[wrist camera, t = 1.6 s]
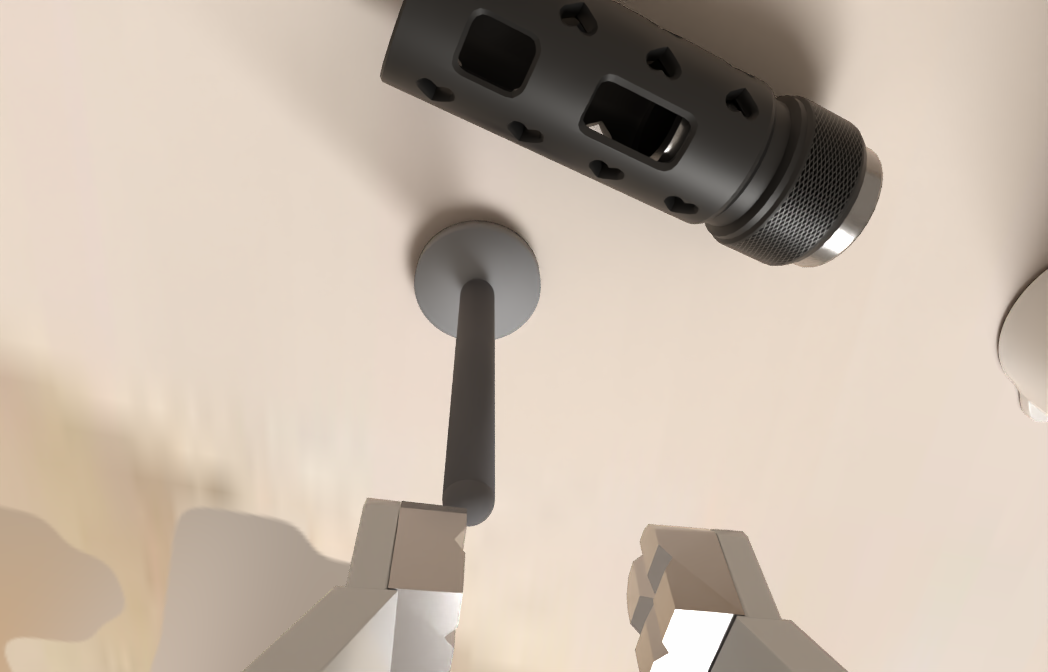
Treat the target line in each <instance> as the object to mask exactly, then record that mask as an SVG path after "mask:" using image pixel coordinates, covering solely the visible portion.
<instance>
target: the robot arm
mask: <svg viewBox="0 0 1048 672" xmlns="http://www.w3.org/2000/svg"><path fill="white" fill-rule="evenodd" d="M999 359H1000V363H1001V366H1002V369H1003V371H1004V372H1005V374H1006V376H1007V377H1008V378H1009V379H1010V380H1011V381H1012V383H1013V384H1014V385H1015V386H1016V387H1017V389H1018V390H1019V392H1020V404H1021V409H1022V411H1023V413H1024V414H1025V415H1026V416H1028V417H1029V418H1030V419H1032V420H1033V421H1036V422H1048V269H1047V270H1046V271H1045V272H1043V273H1042V274H1041V275H1040V276H1039V277H1038V278H1037V279H1035V280H1034V281H1033V282H1032V283H1031V284H1030V285H1029V286H1028V287H1027V289H1026V290H1025V291H1024V292H1023V293H1022V294H1021V296H1020V297H1019V298H1018V300H1017V301H1016V303H1015V304H1014V305H1013V307H1012V309H1011V310H1010V312H1009V314H1008V316H1007V318H1006V320H1005V322H1004V325H1003V328H1002V331H1001V334H1000V339H999ZM466 525H467V508H459V507H450V506H442V505H433V504H424V503H415V502H406V501H402V502H399V501H391V500H383V499H374V498H367V499H366V502H365V504H364V506H363V511H362V515H361V520H360V524H359V529H358V533H357V538H356V542H355V547H354V551H353V556H352V560H351V565H350V569H349V574H348V579H347V583H346V586H335V587H334V588H332V589H331V590H330V591H329V592H328V593H327V594H326V595H325V596H324V597H323V598H322V599H320V600H319V601H318V602H317V603H316V604H315V605H314V606H313V607H312V608H311V609H310V610H309V611H307V613H305V614H304V615H303V616H302V617H301V618H300V619H299V620H298V621H297V622H296V623H294V624H293V625H292V626H291V627H290V628H289V629H288V630H287V631H286V632H285V633H283V634H282V635H281V636H280V637H279V638H278V639H277V640H276V641H275V642H274V643H273V644H272V645H270V647H268V648H267V649H266V650H265V651H264V652H263V653H262V654H261V655H260V656H259V657H257V658H256V659H255V660H254V661H253V662H252V663H251V664H250V665H249V666H248V667H247V668H245V669H244V670H243V671H242V672H450V669H451V663H452V658H453V652H454V642H455V629H456V628H457V627H458V622H459V616H460V609H461V603H462V596H463V583H464V566H465V552H464V551H463V547H464V541H465V534H466ZM640 545H641V550H642V554H643V555H642V556H640V557H639V558H637V559H636V560H635V561H633V563H632V567H631V570H630V573H629V577H628V587H627V607H628V614H629V619H630V624H631V625H632V626H633V627H634V628H635V629H636V630H637V632H638V633H639V634H640V638H639V640H638V643H637V646H636V649H635V652H636V657H637V662H638V667H639V672H848V671H847V670H846V669H845V668H843V667H842V666H841V665H840V664H839V663H838V662H837V661H836V660H835V659H834V658H832V657H831V656H830V655H829V654H828V653H827V652H826V651H825V650H824V649H822V648H821V647H820V646H819V645H818V644H817V643H816V642H815V641H814V640H812V639H811V638H810V637H809V636H808V635H807V634H806V633H805V632H804V631H803V630H801V629H800V628H799V627H798V626H797V625H796V624H795V623H794V622H793V621H791V620H784V619H781V616H780V614H779V611H778V609H777V606H776V604H775V602H774V599H773V597H772V594H771V592H770V589H769V587H768V585H767V582H766V580H765V577H764V575H763V573H762V570H761V568H760V565H759V563H758V560H757V558H756V556H755V553H754V551H753V548H752V546H751V543H750V541H749V539H748V536H747V535H746V534H745V533H744V532H743V531H732V530H719V529H710V530H709V529H705V528H692V527H680V526H667V525H654V524H648V525H647V527H646V528H645V529H644V531H643V534H642V537H641V539H640Z"/></svg>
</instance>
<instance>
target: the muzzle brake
mask: <svg viewBox="0 0 1048 672" xmlns="http://www.w3.org/2000/svg"><path fill="white" fill-rule="evenodd" d="M380 77H381V80H382V82H384V83H386V84H389V85H391V86H393V87H395V88H397V89H399V90H402V91H404V92H406V93H408V94H410V95H412V96H414V97H417V98H419V99H421V100H423V101H425V102H427V103H430V104H432V105H434V106H436V107H438V108H440V109H443V110H445V111H447V112H449V113H451V114H453V115H456V116H458V117H460V118H462V119H464V120H466V121H468V122H471V123H473V124H475V125H477V126H479V127H481V128H484V129H486V130H488V131H490V132H492V133H494V134H497V135H499V136H501V137H503V138H505V139H507V140H510V141H512V142H514V143H516V144H518V145H520V146H523V147H525V148H527V149H529V150H531V151H533V152H535V153H538V154H540V155H542V156H544V157H546V158H548V159H551V160H553V161H555V162H557V163H559V164H561V165H564V166H566V167H568V168H570V169H572V170H574V171H577V172H579V173H581V174H583V175H585V176H587V177H589V178H592V179H594V180H596V181H598V182H600V183H602V184H605V185H607V186H609V187H611V188H613V189H615V190H618V191H620V192H622V193H624V194H626V195H628V196H631V197H633V198H635V199H637V200H639V201H641V202H643V203H646V204H648V205H650V206H652V207H654V208H656V209H659V210H661V211H663V212H665V213H667V214H669V215H672V216H674V217H676V218H678V219H680V220H682V221H685V222H687V223H690V224H701V223H705V225H706V227H707V230H708V231H709V232H710V233H711V234H712V235H713V237H714V238H715V239H716V240H717V241H718V242H719V243H721V244H723V245H725V246H727V247H729V248H732V249H734V250H736V251H738V252H740V253H742V254H745V255H747V256H749V257H751V258H753V259H755V260H758V261H760V262H762V263H764V264H767V265H770V266H782V265H787V264H792V263H793V264H795V265H798V266H801V267H816V266H820V265H823V264H825V263H827V262H829V261H831V260H833V259H834V258H835V257H837V256H838V255H840V254H841V253H842V252H844V251H845V250H846V249H847V248H848V247H849V246H850V245H851V244H852V243H853V242H854V241H855V240H856V238H857V237H858V236H859V235H860V234H861V232H862V231H863V229H864V228H865V226H866V225H867V223H868V221H869V220H870V218H871V216H872V214H873V212H874V210H875V207H876V205H877V202H878V199H879V196H880V192H881V188H882V180H883V171H882V164H881V162H880V160H879V158H878V156H877V154H876V153H875V152H873V151H872V150H871V149H869V148H868V147H866V146H865V143H864V140H863V138H862V136H861V134H860V131H859V130H858V129H857V128H856V127H855V126H854V125H853V124H852V123H851V122H849V121H847V120H845V119H843V118H842V117H840V116H838V115H836V114H834V113H832V112H831V111H829V110H827V109H825V108H823V107H821V106H819V105H818V104H816V103H814V102H812V101H810V100H808V99H806V98H803V97H800V96H788V95H785V96H779V97H776V98H775V97H774V94H773V91H772V90H771V88H770V87H769V86H768V85H767V84H766V83H765V82H763V81H761V80H759V79H758V78H756V77H754V76H752V75H749V74H747V73H745V72H743V71H741V70H739V69H737V68H733V67H732V66H731V65H730V64H728V63H727V62H725V61H724V60H722V59H720V58H719V57H717V56H715V55H713V54H711V53H709V52H707V51H706V50H704V49H702V48H700V47H698V46H696V45H694V44H693V43H691V42H689V41H687V40H685V39H683V38H681V37H679V36H677V35H675V34H673V33H671V32H669V31H667V30H664V29H661V28H659V27H658V26H657V25H656V24H654V23H653V22H651V21H650V20H648V19H646V18H644V17H642V16H641V15H639V14H637V13H635V12H633V11H631V10H629V9H628V8H626V7H624V6H622V5H620V4H618V3H616V2H615V1H613V0H404V1H403V4H402V7H401V9H400V12H399V15H398V18H397V21H396V24H395V27H394V30H393V33H392V36H391V39H390V42H389V45H388V48H387V51H386V54H385V58H384V61H383V65H382V69H381V74H380ZM597 124H599V126H600V129H601V131H602V133H603V135H602V134H600V133H598V132H596V131H594V130H592V129H590V128H589V127H591V126H594V125H597Z"/></svg>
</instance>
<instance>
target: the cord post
mask: <svg viewBox="0 0 1048 672" xmlns="http://www.w3.org/2000/svg"><path fill="white" fill-rule="evenodd" d="M414 288H415V295H416V299H417V302H418V304H419V307H420V309H421V310H422V312H423V314H424V315H425V316H426V318H427V319H428V320H429V321H430V322H431V323H432V324H433V325H434V326H435V327H437V328H438V329H439V330H441V331H442V332H444V333H446V334H448V335H450V336H452V337H455V338H456V348H455V360H454V371H453V383H452V394H451V405H450V417H449V428H448V440H447V451H446V463H445V474H444V485H443V497H442V501H443V506H450V507H459V508H467V525H466V526H475V525H478V524H480V523H482V522H483V521H485V520H486V519H487V518H488V516H489V515H490V514H491V512H492V510H493V507H494V502H495V339H499V338H502V337H504V336H507V335H509V334H511V333H512V332H514V331H516V330H517V329H519V328H520V327H521V326H522V325H523V324H524V323H525V322H526V321H527V320H528V319H529V318H530V317H531V315H532V314H533V312H534V310H535V308H536V306H537V304H538V300H539V297H540V289H541V284H540V274H539V267H538V263H537V260H536V257H535V255H534V253H533V251H532V250H531V248H530V247H529V245H528V244H527V243H526V242H525V241H524V240H523V238H521V237H520V236H519V235H518V234H517V233H515V232H513V231H512V230H510V229H509V228H506V227H504V226H502V225H499V224H496V223H492V222H487V221H467V222H461V223H458V224H455V225H452V226H450V227H448V228H446V229H444V230H442V231H441V232H439V233H438V234H437V235H435V236H434V237H433V238H432V239H431V240H430V241H429V242H428V243H427V245H426V246H425V248H424V249H423V251H422V253H421V255H420V258H419V261H418V264H417V269H416V274H415V280H414Z"/></svg>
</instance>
